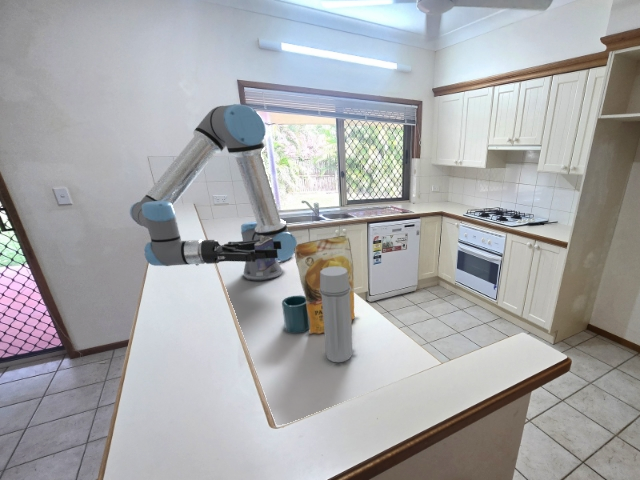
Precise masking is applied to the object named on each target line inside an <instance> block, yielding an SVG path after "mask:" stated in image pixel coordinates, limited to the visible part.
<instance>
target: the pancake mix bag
mask: <svg viewBox="0 0 640 480" xmlns="http://www.w3.org/2000/svg"><path fill="white" fill-rule="evenodd" d="M294 258H295V263H296V267H297V269H298V274H299V279H300V285H301V288H302V291H303V294H304V296H305V298H306V305H307V311H308V314H309V319H310V328H309V329H308V334H309V335H311V334H317V335H319V334H320V335H321V334H325V333H324V320H323V307H322V295H321V294H320V292H319V289H320V271H321V270H322V269H324V268H327V267H334V266H336V267H343V268H346V269H347V271H348V278H349V285H350V286H351V292H350V301H351V324H353V320H355V319H356V315H355V274H354V263H353V262H354V261H353V254H352V246H351V242H350V237H347V235H338V236H334V237H328V238H321V239H315V240H311V241H306V242H302V243H297V246H296V247H295V248H294ZM321 292H322V291H321Z"/></svg>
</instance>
